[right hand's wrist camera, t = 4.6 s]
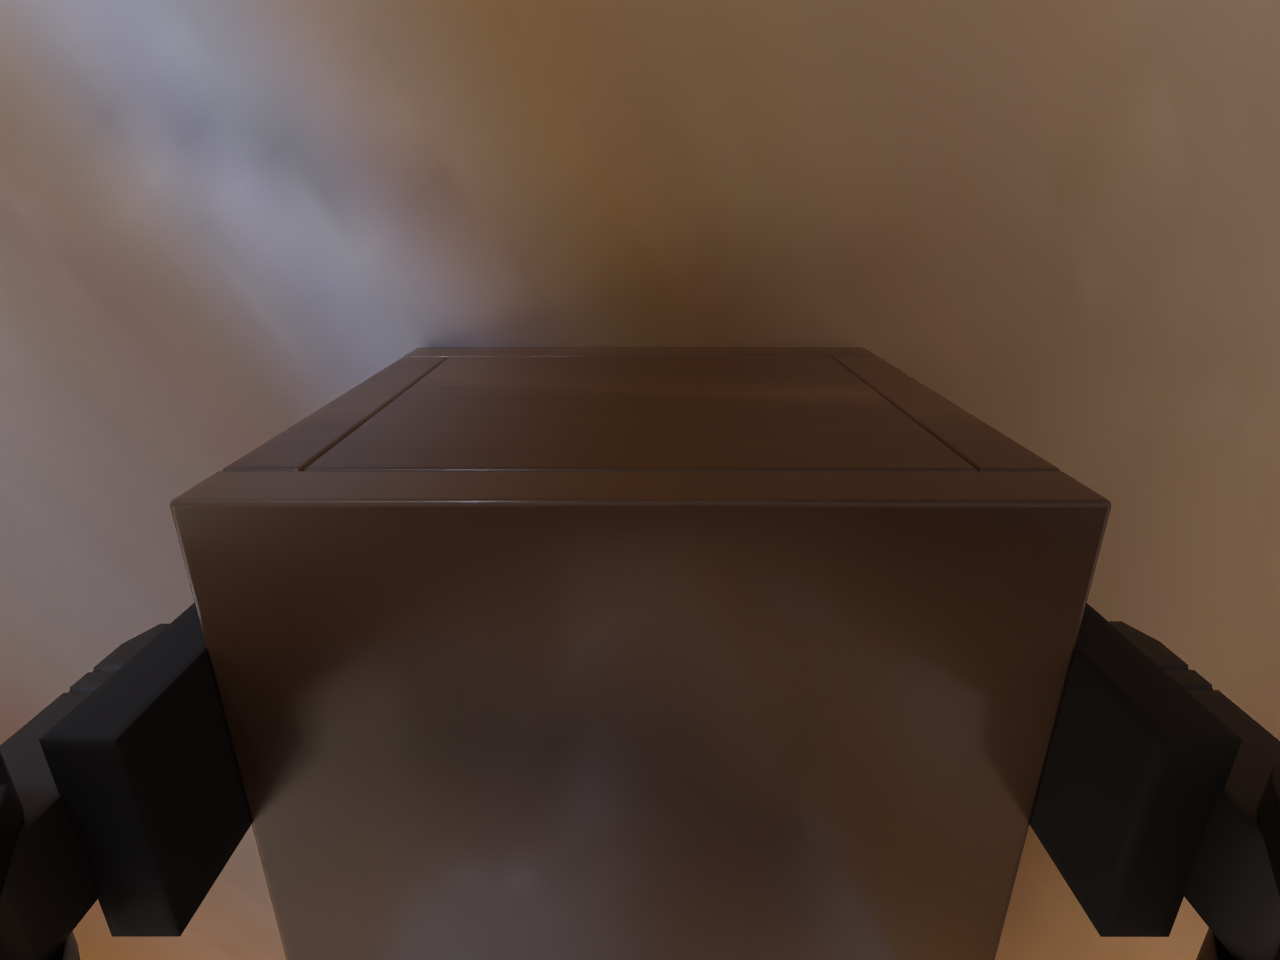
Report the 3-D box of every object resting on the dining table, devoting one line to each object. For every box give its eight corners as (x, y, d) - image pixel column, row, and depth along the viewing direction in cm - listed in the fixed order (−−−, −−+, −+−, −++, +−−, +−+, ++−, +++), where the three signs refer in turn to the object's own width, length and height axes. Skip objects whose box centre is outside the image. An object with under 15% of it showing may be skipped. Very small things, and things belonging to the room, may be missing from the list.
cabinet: (795, 962, 23) (884, 1394, 15) (485, 961, 23) (396, 1393, 15) (864, 347, 16) (1115, 501, 8) (416, 347, 16) (165, 501, 8)
